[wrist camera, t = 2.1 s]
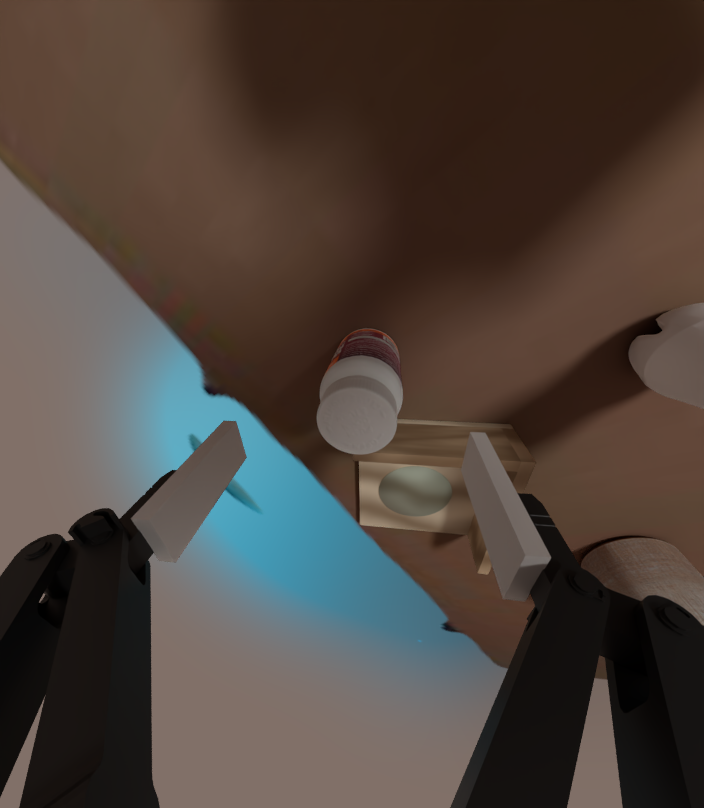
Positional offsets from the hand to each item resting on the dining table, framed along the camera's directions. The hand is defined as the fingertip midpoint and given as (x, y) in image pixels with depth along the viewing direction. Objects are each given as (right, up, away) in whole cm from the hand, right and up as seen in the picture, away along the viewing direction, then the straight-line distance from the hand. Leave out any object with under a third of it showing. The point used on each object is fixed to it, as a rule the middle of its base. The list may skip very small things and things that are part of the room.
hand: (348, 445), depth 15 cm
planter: (+37, -18, +21) cm, 47 cm away
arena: (+9, -7, +18) cm, 22 cm away
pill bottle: (+2, +7, +11) cm, 13 cm away
